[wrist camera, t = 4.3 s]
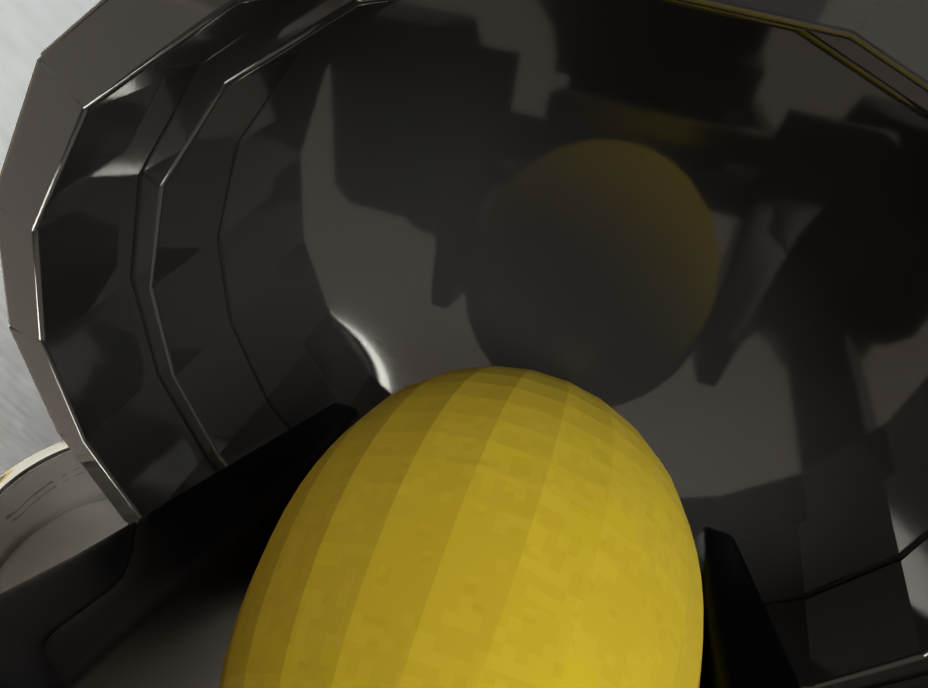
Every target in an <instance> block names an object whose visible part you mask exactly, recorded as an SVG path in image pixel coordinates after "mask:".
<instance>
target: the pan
mask: <svg viewBox="0 0 928 688" xmlns="http://www.w3.org/2000/svg"><path fill="white" fill-rule="evenodd" d="M0 258H1V266H2V274H3V282H4V290H5V297H6V305H7V313H8V321H9V324H10V325H11V326H10V327H9V329H10V331H11V333H12V335H13V337H14V340H15V342H16V344H17V346H18V348H19V350H20V353H21V355H22V357H23V359H24V361H25V363H26V365H27V368H28V370H29V372H30V374H31V376H32V378H33V381H34V383H35V385H36V387H37V389H38V391H39V393H40V396H41V398H42V400H43V402H44V404H45V406H46V409H47V411H48V413H49V415H50V417H51V419H52V422H53V424H54V426H55V428H56V430H57V432H58V433H60V436H61V438H62V439H63V440H64V442H65V443H66V444H67V446H68V447H69V448H70V450H71V451H72V452H73V453H74V455H75V456H76V457H77V459H78V460H79V461H80V463H81V464H82V465H83V467H84V468H85V469H86V471H87V472H88V473H89V475H90V476H91V477H92V479H93V480H94V481H95V483H96V484H97V485H98V487H99V488H100V489H101V491H102V492H103V493H104V494H105V496H106V497H107V498H108V500H109V501H110V502H111V504H112V505H113V506H114V508H115V509H116V510H117V512H118V513H119V514H120V516H121V517H122V518H123V520H124V521H125V522H127V523H128V524H130V523H132V522H136V523H137V521H138V519H139V518H141V517H142V516H144V515H146V514H147V513H149V512H151V511H152V510H154V509H156V508H157V507H159V506H161V505H162V504H164V503H166V502H168V501H169V500H171V499H173V498H174V497H176V496H178V495H179V494H181V493H183V492H184V491H186V490H188V489H189V488H191V487H193V486H195V485H196V484H198V483H200V482H201V481H203V480H205V479H206V478H208V477H210V476H211V475H213V474H215V473H216V472H218V471H220V470H222V469H223V468H225V467H227V466H228V465H230V464H232V463H233V462H235V461H237V460H238V459H240V458H242V457H243V456H245V455H247V454H249V453H250V452H252V451H254V450H255V449H257V448H259V447H260V446H262V445H264V444H265V443H267V442H269V441H270V440H272V439H274V438H276V437H277V436H279V435H281V434H282V433H284V432H286V431H287V430H289V429H291V428H292V427H294V426H296V425H297V424H299V423H301V422H302V421H304V420H306V419H308V418H309V417H311V416H313V415H314V414H316V413H318V412H319V411H321V410H323V409H324V408H326V407H328V406H329V405H331V404H333V403H337V402H339V403H343V404H346V405H349V406H352V407H355V408H357V409H358V410H359V411H360V415H361V418H362V417H363V416H365V415H366V414H367V413H368V412H370V411H371V410H372V409H373V408H375V407H376V406H377V405H378V404H380V403H381V402H382V401H383V400H385V399H386V398H387V397H389V396H390V395H392V394H394V393H396V392H397V391H399V390H401V389H403V388H404V387H407V386H409V385H412V384H415V383H418V382H420V381H423V380H426V379H429V378H431V377H434V376H437V375H440V374H442V373H445V372H448V371H451V370H459V369H468V368H479V367H490V366H503V367H512V368H521V369H529V370H534V371H537V372H541V373H544V374H547V375H550V376H553V377H557V378H560V379H563V380H566V381H568V382H570V383H572V384H574V385H576V386H578V387H580V388H581V389H583V390H585V391H587V392H589V393H591V394H593V395H595V396H596V397H598V398H600V399H601V400H602V401H604V402H605V403H606V404H607V405H609V406H610V407H611V408H612V409H613V410H615V411H616V412H617V413H618V414H620V415H621V416H622V417H623V418H624V419H626V420H627V421H628V422H629V423H630V424H631V425H632V426H633V427H634V428H635V429H636V430H637V431H638V432H639V433H640V435H641V436H642V437H643V439H644V440H645V441H646V442H647V444H648V445H649V446H650V448H651V449H652V450H653V452H654V453H655V454H656V456H657V457H658V458H659V460H660V461H661V463H662V464H663V466H664V467H665V469H666V470H667V472H668V473H669V475H670V477H671V479H672V481H673V484H674V486H675V488H676V491H677V493H678V495H679V498H680V501H681V504H682V506H683V509H684V512H685V515H686V517H687V520H688V523H689V525H690V528H691V532H692V536H693V539H695V538H696V536H697V535H698V533H699V531H700V530H701V529H702V528H704V527H711V528H713V529H716V530H719V531H722V532H725V533H728V534H730V535H731V536H732V537H733V538H734V539H735V541H736V543H737V545H738V547H739V550H740V552H741V554H742V556H743V559H744V561H745V563H746V565H747V568H748V570H749V572H750V574H751V576H752V579H753V581H754V583H755V585H756V588H757V590H758V592H759V594H760V597H761V599H762V601H763V603H764V606H765V608H766V610H767V612H768V615H769V617H770V619H771V621H772V624H773V626H774V628H775V630H776V633H777V635H778V637H779V639H780V641H781V644H782V646H783V648H784V650H785V653H786V655H787V657H788V659H789V662H790V664H791V666H792V668H793V671H794V673H795V675H796V677H797V680H798V682H799V684H800V686H801V688H928V0H100V1H99V2H98V3H97V4H96V5H95V6H94V7H92V8H91V9H90V10H89V11H88V12H87V13H86V14H84V15H83V16H82V17H81V18H80V19H79V20H78V21H76V22H75V23H74V24H73V25H72V26H71V27H70V28H68V29H67V30H66V31H65V32H64V33H63V34H62V35H60V36H59V37H58V38H57V39H56V40H55V41H54V42H52V43H51V44H50V45H49V46H48V47H47V48H46V49H44V50H43V52H42V53H41V57H39V59H38V60H37V63H36V66H35V69H34V72H33V75H32V78H31V81H30V84H29V87H28V90H27V93H26V96H25V100H24V103H23V106H22V109H21V112H20V115H19V118H18V121H17V124H16V127H15V130H14V134H13V137H12V140H11V143H10V146H9V149H8V152H7V155H6V158H5V161H4V164H3V168H2V171H1V174H0Z"/></svg>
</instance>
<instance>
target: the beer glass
mask: <svg viewBox="0 0 928 688" xmlns="http://www.w3.org/2000/svg"><path fill="white" fill-rule="evenodd" d="M127 525H128V523H127V522H125V521H124V520H123V518H122V517H121V516H120V514H119V513H118V512H117V510H116V509H115V508H114V506H113V505H112V504H111V502H110V501H109V500H108V498H107V497H106V496H105V494H104V493H103V492H102V491H101V489H100V488H99V487H98V485H97V484H96V483H95V481H94V480H93V479H92V477H91V476H90V475H89V473H88V472H87V471H86V469H85V468H84V467H83V465H82V464H81V463H80V461H79V460H78V459H77V457H76V456H75V455H74V453H73V452H72V451H71V450H70V448H69V447H68V446H67V444H66V443H65V442H64V441H61V442H59V443H56V444H54V445H51V446H49V447H47V448H45V449H42V450H40V451H38V452H37V453H35V454H33V455H31V456H29V457H28V458H26V459H24V460H23V461H21V462H19V463H18V464H16V465H15V466H13V467H12V468H11V469H9V470H8V471H6V472H5V473H4V474H3V475H1V476H0V593H1V592H3V591H5V590H7V589H9V588H11V587H13V586H15V585H17V584H20V583H22V582H24V581H26V580H28V579H30V578H32V577H34V576H36V575H38V574H40V573H41V572H43V571H45V570H47V569H49V568H51V567H53V566H55V565H57V564H59V563H61V562H63V561H65V560H67V559H69V558H71V557H73V556H74V555H76V554H78V553H80V552H82V551H83V550H85V549H87V548H89V547H90V546H92V545H94V544H96V543H97V542H99V541H101V540H103V539H105V538H106V537H108V536H110V535H112V534H113V533H115V532H117V531H118V530H120V529H122V528H123V527H125V526H127Z"/></svg>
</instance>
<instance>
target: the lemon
mask: <svg viewBox="0 0 928 688" xmlns="http://www.w3.org/2000/svg"><path fill="white" fill-rule="evenodd" d="M703 613H704V606H703V593H702V579H701V573H700V567H699V561H698V555H697V550H696V546H695V543H694V539H693V536H692V532H691V528H690V525H689V523H688V520H687V517H686V515H685V512H684V509H683V506H682V504H681V501H680V498H679V495H678V493H677V491H676V488H675V486H674V484H673V481H672V479H671V477H670V475H669V473H668V472H667V470H666V469H665V467H664V466H663V464H662V463H661V461H660V460H659V458H658V457H657V456H656V454H655V453H654V452H653V450H652V449H651V448H650V446H649V445H648V444H647V442H646V441H645V440H644V439H643V437H642V436H641V435H640V433H639V432H638V431H637V430H636V429H635V428H634V427H633V426H632V425H631V424H630V423H629V422H628V421H627V420H626V419H624V418H623V417H622V416H621V415H620V414H618V413H617V412H616V411H615V410H613V409H612V408H611V407H610V406H609V405H607V404H606V403H605V402H604V401H602V400H601V399H600V398H598V397H596V396H595V395H593V394H591V393H589V392H587V391H585V390H583V389H581V388H580V387H578V386H576V385H574V384H572V383H570V382H568V381H566V380H563V379H560V378H557V377H553V376H550V375H547V374H544V373H541V372H537V371H534V370H529V369H521V368H512V367H503V366H490V367H479V368H468V369H459V370H451V371H448V372H445V373H442V374H440V375H437V376H434V377H431V378H429V379H426V380H423V381H420V382H418V383H415V384H412V385H409V386H407V387H404V388H403V389H401V390H399V391H397V392H396V393H394V394H392V395H390V396H389V397H387V398H386V399H385V400H383V401H382V402H381V403H380V404H378V405H377V406H376V407H375V408H373V409H372V410H371V411H370V412H368V413H367V414H366V415H365V416H363V417H362V418H361V419H360V420H359V421H357V422H356V423H355V424H354V425H352V426H351V427H350V428H349V429H348V430H347V431H346V432H344V433H343V434H342V435H341V436H340V437H339V438H338V439H337V440H336V441H335V442H334V443H333V444H332V445H331V446H330V447H329V448H328V450H327V451H326V452H325V453H324V454H323V455H322V457H321V458H320V459H319V460H318V461H317V462H316V464H315V465H314V466H313V467H312V469H311V470H310V472H309V473H308V474H307V476H306V477H305V478H304V480H303V481H302V483H301V484H300V485H299V487H298V488H297V490H296V492H295V493H294V495H293V497H292V498H291V500H290V502H289V503H288V505H287V507H286V508H285V510H284V512H283V514H282V516H281V518H280V519H279V521H278V523H277V525H276V527H275V529H274V531H273V533H272V535H271V537H270V539H269V541H268V544H267V546H266V548H265V550H264V552H263V555H262V557H261V559H260V561H259V563H258V566H257V568H256V570H255V573H254V575H253V577H252V580H251V582H250V584H249V586H248V589H247V591H246V594H245V597H244V599H243V602H242V605H241V607H240V610H239V613H238V616H237V618H236V621H235V624H234V627H233V631H232V634H231V637H230V641H229V644H228V647H227V650H226V654H225V657H224V662H223V667H222V672H221V677H220V682H219V687H218V688H699V687H700V677H701V665H702V648H703Z"/></svg>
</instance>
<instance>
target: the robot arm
mask: <svg viewBox="0 0 928 688" xmlns="http://www.w3.org/2000/svg"><path fill="white" fill-rule="evenodd" d="M360 419H361V415H360V411H359V410H358V409H357V408H355V407H352V406H349V405H346V404H343V403H339V402H337V403H333V404H331V405H329V406H328V407H326V408H324V409H323V410H321V411H319V412H318V413H316V414H314V415H313V416H311V417H309V418H308V419H306V420H304V421H302V422H301V423H299V424H297V425H296V426H294V427H292V428H291V429H289V430H287V431H286V432H284V433H282V434H281V435H279V436H277V437H276V438H274V439H272V440H270V441H269V442H267V443H265V444H264V445H262V446H260V447H259V448H257V449H255V450H254V451H252V452H250V453H249V454H247V455H245V456H243V457H242V458H240V459H238V460H237V461H235V462H233V463H232V464H230V465H228V466H227V467H225V468H223V469H222V470H220V471H218V472H216V473H215V474H213V475H211V476H210V477H208V478H206V479H205V480H203V481H201V482H200V483H198V484H196V485H195V486H193V487H191V488H189V489H188V490H186V491H184V492H183V493H181V494H179V495H178V496H176V497H174V498H173V499H171V500H169V501H168V502H166V503H164V504H162V505H161V506H159V507H157V508H156V509H154V510H152V511H151V512H149V513H147V514H146V515H144V516H142V517H141V518H139V519H138V521H137V523H136V522H132V523H130V524H128V525H127V526H125V527H123V528H122V529H120V530H118V531H117V532H115V533H113V534H112V535H110V536H108V537H106V538H105V539H103V540H101V541H99V542H97V543H96V544H94V545H92V546H90V547H89V548H87V549H85V550H83V551H82V552H80V553H78V554H76V555H74V556H73V557H71V558H69V559H67V560H65V561H63V562H61V563H59V564H57V565H55V566H53V567H51V568H49V569H47V570H45V571H43V572H41V573H40V574H38V575H36V576H34V577H32V578H30V579H28V580H26V581H24V582H22V583H20V584H17V585H15V586H13V587H11V588H9V589H7V590H5V591H3V592H1V593H0V688H218V687H219V682H220V677H221V672H222V667H223V662H224V657H225V654H226V650H227V647H228V644H229V641H230V637H231V634H232V631H233V627H234V624H235V621H236V618H237V616H238V613H239V610H240V607H241V605H242V602H243V599H244V597H245V594H246V591H247V589H248V586H249V584H250V582H251V580H252V577H253V575H254V573H255V570H256V568H257V566H258V563H259V561H260V559H261V557H262V555H263V552H264V550H265V548H266V546H267V544H268V541H269V539H270V537H271V535H272V533H273V531H274V529H275V527H276V525H277V523H278V521H279V519H280V518H281V516H282V514H283V512H284V510H285V508H286V507H287V505H288V503H289V502H290V500H291V498H292V497H293V495H294V493H295V492H296V490H297V488H298V487H299V485H300V484H301V483H302V481H303V480H304V478H305V477H306V476H307V474H308V473H309V472H310V470H311V469H312V467H313V466H314V465H315V464H316V462H317V461H318V460H319V459H320V458H321V457H322V455H323V454H324V453H325V452H326V451H327V450H328V448H329V447H330V446H331V445H332V444H333V443H334V442H335V441H336V440H337V439H338V438H339V437H340V436H341V435H342V434H343V433H344V432H346V431H347V430H348V429H349V428H350V427H351V426H352V425H354V424H355V423H356V422H357V421H359V420H360ZM694 543H695V546H696V550H697V555H698V561H699V567H700V573H701V579H702V593H703V606H704V613H703V648H702V665H701V677H700V687H699V688H801V686H800V684H799V682H798V680H797V677H796V675H795V673H794V671H793V668H792V666H791V664H790V662H789V659H788V657H787V655H786V653H785V650H784V648H783V646H782V644H781V641H780V639H779V637H778V635H777V633H776V630H775V628H774V626H773V624H772V621H771V619H770V617H769V615H768V612H767V610H766V608H765V606H764V603H763V601H762V599H761V597H760V594H759V592H758V590H757V588H756V585H755V583H754V581H753V579H752V576H751V574H750V572H749V570H748V568H747V565H746V563H745V561H744V559H743V556H742V554H741V552H740V550H739V547H738V545H737V543H736V541H735V539H734V538H733V537H732V536H731V535H730V534H728V533H725V532H722V531H719V530H716V529H713V528H711V527H704V528H702V529H701V530H700V531H699V533H698V535H697V536H696V538H695V539H694Z"/></svg>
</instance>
